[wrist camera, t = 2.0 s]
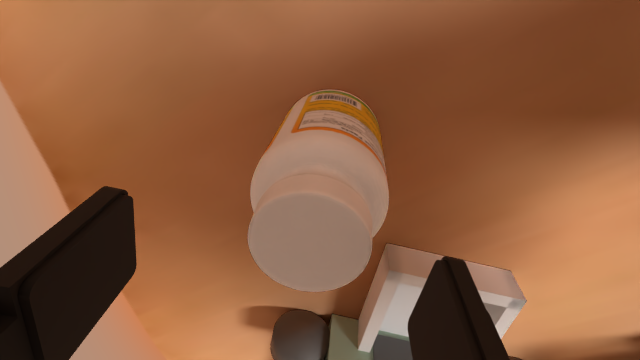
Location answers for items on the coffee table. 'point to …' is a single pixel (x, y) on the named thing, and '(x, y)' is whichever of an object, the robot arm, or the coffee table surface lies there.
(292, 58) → the coffee table surface
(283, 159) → the supplement bottle
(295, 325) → the green wheeled cart
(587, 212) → the coffee table surface
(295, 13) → the coffee table surface
